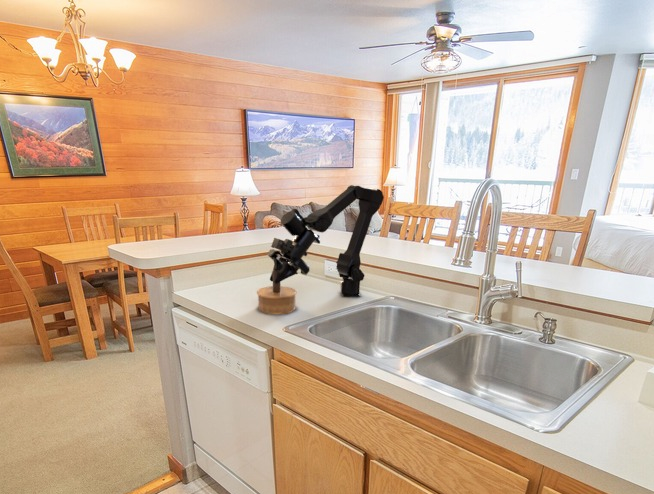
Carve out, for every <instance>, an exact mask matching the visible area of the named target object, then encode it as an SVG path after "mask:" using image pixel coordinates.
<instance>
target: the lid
mask: <svg viewBox="0 0 654 494" xmlns="http://www.w3.org/2000/svg"><path fill="white" fill-rule="evenodd" d="M279 272H280V271H279V270H273V269H272V270H271V274H272V275H273V281H272V286H263V287H261V288H259V289H257V290H256V294H257V296H258V295H259V296H261V297H264V298H271V299H282V298H289V297H292V296H294V295H295V296H296V295H297V290H296V289H295V288H293V287H289V286H281V282H279V283H277V284H276V283H275V282H274V281H275V279H276V277H277V275H278V274H279Z"/></svg>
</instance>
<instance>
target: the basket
mask: <svg viewBox="0 0 654 494" xmlns="http://www.w3.org/2000/svg"><path fill="white" fill-rule="evenodd" d="M257 302H258V310H259V311H260V312H262V313H264V314H268V315H284V314H289V313H292V312H294V311H295V310H296V295H294V296H292V297H289V298H282V299H271V298H264V297H261V296H259V295H257Z"/></svg>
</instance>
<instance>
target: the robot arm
mask: <svg viewBox="0 0 654 494" xmlns="http://www.w3.org/2000/svg"><path fill="white" fill-rule="evenodd" d="M384 199H385V195H384V193H383V191H382V190H381V189H379V188H371V187H370V188H369V187H362V186H360V185H356V184H351V185H348V187H346V189H345V190H344V191H342V192H341V193H340V194H339V195H338V196H337V197H335V198H334V199H333V200H332V201H330V202H329V203H328V204H327V205H326V206H324V207H322V208H319V209H316V210H314V211H312V212H311V213H309V214H308V215H307V216H306V217H303V215H302V214H301V213H300V211H299V210H298V209H297V208H291V210H290V211H288V212H286V213H285V214H283V215H282V217H280V220H279V222H280V224H281V225H282V227H283V228H284V229H285V230H286V231H287V232H288V234H290V235H291V236H293V237H294V238H293V240H291V239H289V238H285V239H284V240H283V239H280V238H277V237H273V240H272V242H271V245H270V248H273V249H269V251H268V252H267V253H266V255H267V256H268V257H269V258H270V259H271V260H272V261H273V269H272V271H273V270H279V271H280V272H279V274H278V275H277V277H276V279H275V281H274V282H275V283H276V284H277V283H279V282H280V283H281V282H283V281H284V280H286V279H288V278H291V277H293V276H295V275H298V274H299V272H298V271H299V270H300V274H301V275H304V276H307V275H309V272H310V266H309V264H307V263H306V262H305V261H304V259H303V257H308V253H307V252H308V250H309V249H310V248H311V246H312V245H313V243H315V244H317V245H319V244H321V239H320V235H319V234H316V233H315V232H318V233H325V232H326V231H327V230H328V229H329V228H330V227H331V225H333V223H334V219H335V218H336V217H337V216H338V215H340V214H341V213H342V212H344V210H346V209H347V208H348V207H349V206H350V205H351V204H353V203H354V202H355V201H356V200H358V209H359V211H358V212H359V213H358V215H357V219H356V222H355V225H354V227H353V230H352V234H351V237H350V240H349V242H348V246H347V248H346V250H345V251H344V252H340V253H339V254H338V258H337V261H336V262H335V264H336V270H337V273H338V276H339V277H340V278H342V281H340V294H341V295H342V297H345V298H346V297H349V298H350V297H361V294H360V289H361V281H363V280H364V279H365V276H366V275H365V273H364V272H363V271H362V270H361V261H362V260H361V255H360V254H361V252H362V249H363V245H364V242H365V239H366V236H367V233H368V232H369V231H368V230H369V227H370V225H371V221H372V219H373V216H374V215H375V214H376V213H377V212H378V211H379V210H380V208H381V206H382V204H383V202H384ZM269 281H270V282H273V275H272V273H271V274H270V277H269Z"/></svg>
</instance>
